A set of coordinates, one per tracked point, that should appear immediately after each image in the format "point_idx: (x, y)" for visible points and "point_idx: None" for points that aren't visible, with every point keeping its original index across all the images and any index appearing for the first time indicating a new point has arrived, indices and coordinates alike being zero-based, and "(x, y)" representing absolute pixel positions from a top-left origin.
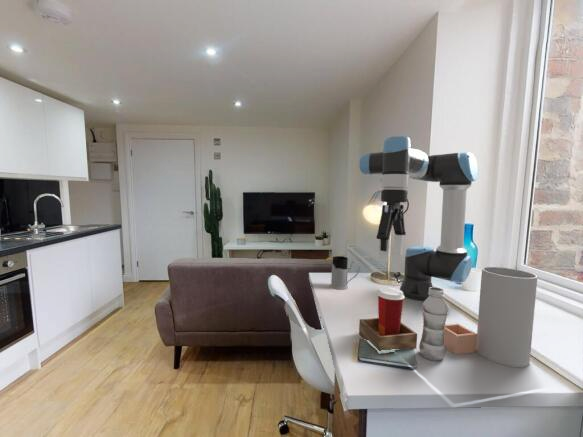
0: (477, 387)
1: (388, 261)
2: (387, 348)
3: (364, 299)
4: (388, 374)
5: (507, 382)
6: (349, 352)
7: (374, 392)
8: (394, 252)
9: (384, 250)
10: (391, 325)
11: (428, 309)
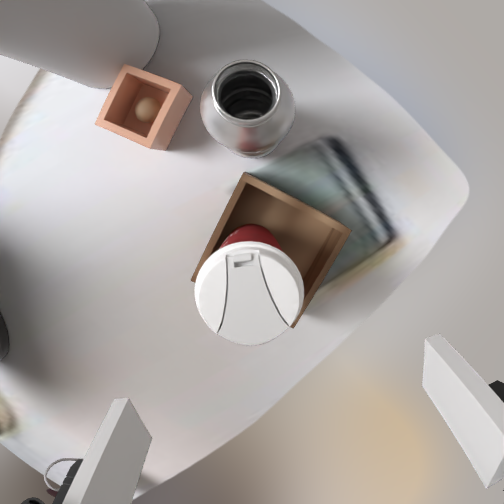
0: (288, 31)
1: (434, 339)
2: (323, 213)
3: (102, 401)
4: (391, 168)
5: (219, 4)
6: (380, 270)
7: (449, 163)
8: (143, 439)
9: (499, 387)
10: (276, 241)
11: (294, 114)
